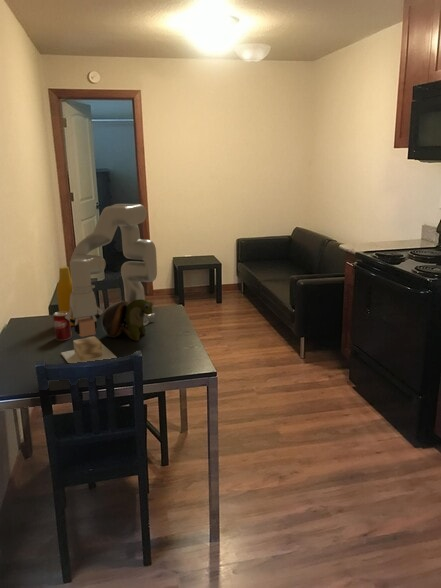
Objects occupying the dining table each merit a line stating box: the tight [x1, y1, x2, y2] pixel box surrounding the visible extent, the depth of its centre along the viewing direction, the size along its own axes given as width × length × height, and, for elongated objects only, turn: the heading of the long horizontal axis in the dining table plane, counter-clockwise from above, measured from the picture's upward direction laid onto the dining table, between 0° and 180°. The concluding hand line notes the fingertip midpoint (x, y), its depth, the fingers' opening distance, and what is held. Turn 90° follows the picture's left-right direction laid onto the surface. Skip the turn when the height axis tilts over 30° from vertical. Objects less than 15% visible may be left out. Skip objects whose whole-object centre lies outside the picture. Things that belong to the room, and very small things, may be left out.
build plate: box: [60, 343, 118, 364], centre depth 199 cm, size 18×18×1 cm
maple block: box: [72, 335, 102, 361], centre depth 198 cm, size 9×9×6 cm
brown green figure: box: [101, 299, 154, 342], centre depth 219 cm, size 19×16×25 cm
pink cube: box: [78, 316, 96, 338], centre depth 195 cm, size 6×6×6 cm
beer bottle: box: [56, 266, 74, 327], centre depth 236 cm, size 9×9×29 cm
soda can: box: [52, 311, 73, 342], centre depth 219 cm, size 7×7×12 cm
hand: (85, 331), depth 196 cm, fingers closed on pink cube, 6 cm apart
